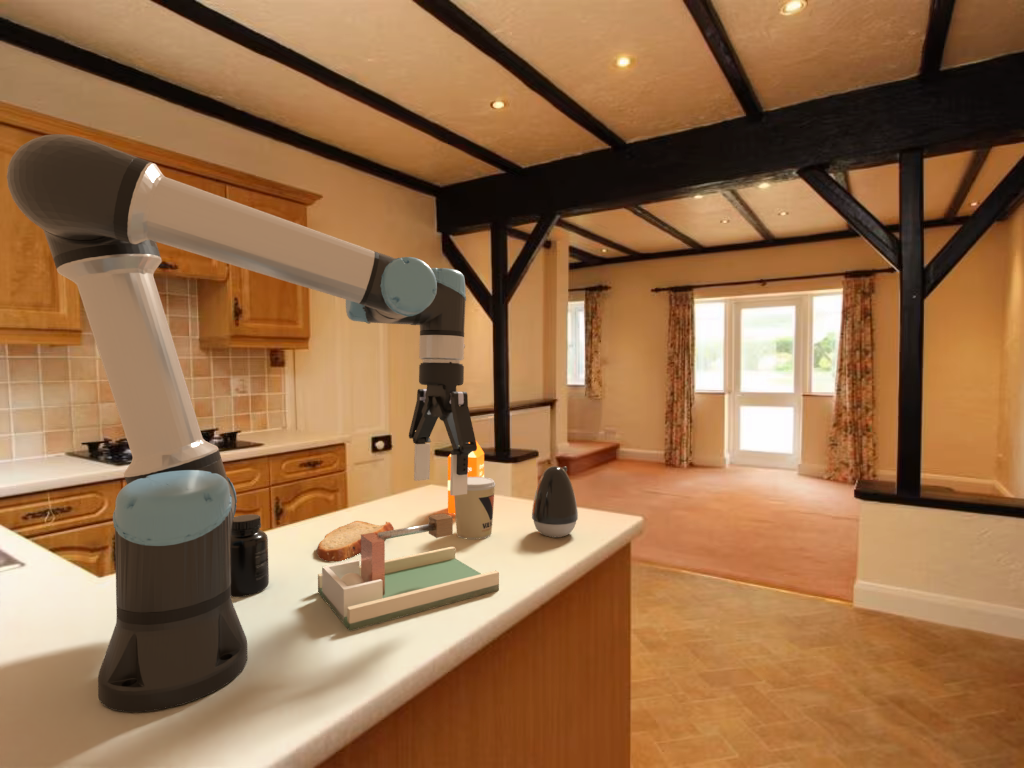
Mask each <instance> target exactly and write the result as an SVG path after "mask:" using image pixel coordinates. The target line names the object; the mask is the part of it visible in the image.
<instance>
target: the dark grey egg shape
mask: <svg viewBox="0 0 1024 768" xmlns="http://www.w3.org/2000/svg"><path fill="white" fill-rule="evenodd" d="M567 471H568V467H567V466H562V467H561V466H557V465H554V466H549V467H548V468H546V469H545V470H544V471H543V473H542V475H541V476H540V479H539V481H538V483H537V486H536V489H535V494H534V497H533V498H534V499H533V504H532V509H531V510H532V511H531V519H532V520H533V524H534V526H535V529H536V530H537V531H538V532H539V533H540V534H541V535H543V536H546V537H548V536H549V538H563V537H566V536H568V535H569V534H571V532H572V531H573V530H574V529H575V526H576V524H577V521H578V520H579V515H578V513H579V511H578V506H577V500H576V499H577V498H576V495H575V491H574V488H573V485H572V481H571V479H570V477H569V474H568V473H567ZM562 536H563V537H562Z"/></svg>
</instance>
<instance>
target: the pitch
mask: <svg viewBox="0 0 1024 768" xmlns="http://www.w3.org/2000/svg"><path fill="white" fill-rule="evenodd" d="M348 573H356V574H358V575H360V576H361V564H360V560H359V559H354V560H347V561H342V562H339V563H334V564H329V565H325V566H322V567H321V573H318V574H317V593H318V592H319V593H320V594H319V593H318V594H319V596H320V597H321V596H322V597H323V598H324V599H323V598H322V597H321V598H322V599H323V600H324V602H325V603H326V602H327V603H328V604H327V603H326V604H327V605H328V607H331V608H332V609H333V610H332V609H331V608H330V609H331V610H332V611H333V613H334V614H335V613H336V614H335V615H336V616H337V617H338V619H339V620H340V621H341V622H342V624H343V625H344V626H345V627H346V628H347V630H348V631H350V632H351V631H354V630H355V631H356V630H358V629H362V628H365V627H369V626H373V625H377V624H380V623H383V622H388V621H391V620H395V619H398V618H401V617H405V616H410V615H413V614H417V613H420V612H424V611H427V610H431V609H435V608H440V607H442V606H446V605H449V604H454V603H458V602H461V601H464V600H468V599H472V598H475V597H479V596H483V595H487V594H490V593H494V592H497V591H500V572H499V571H498V570H492V571H488V572H484V573H481V572H479V571H477V570H475V569H474V568H472V567H471V566H469V565H468V564H466V563H463V562H462V561H461V560H458V559H457V558H456V547H455V546H449V547H442V548H439V549H434V550H429V551H425V552H420V553H414V554H410V555H404V556H400V557H394V558H390V559H385V595H383V581H382V580H381V579H379V580H374V581H370V582H365V583H361V584H357V585H352V586H347V585H346V584H345V583H344V582H343V581H342V580H341V578H342V577H343V576H344V575H345V574H348Z"/></svg>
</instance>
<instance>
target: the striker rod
mask: <svg viewBox="0 0 1024 768" xmlns="http://www.w3.org/2000/svg"><path fill="white" fill-rule="evenodd" d="M453 519H454V518H453V516H450V514H446V513H439V514H433V515H428V523H427V524H422V525H421V524H420V525H415V526H409V527H404V528H398V529H394V530H391V531H385V532H379V533H378V534H377V535H376V534H374V533H368V534H362V535H361V553H360V561H361V563H360V565H361V577H362V579H363V581H364V583H365V582H370V581H374V580H379V579H381V580H382V581H383V595H385V560H386V558H385V557H386V555H385V554H386V553H385V551H386V549H385V548H386V547H385V540H388V539H394V538H399V537H404V536H410V535H416V534H422V533H427V532H428V534H429V535H431V536H432V537H434V538H436V539H438V538H443V537H448V536H453V522H454V520H453Z"/></svg>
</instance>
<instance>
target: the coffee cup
mask: <svg viewBox="0 0 1024 768" xmlns="http://www.w3.org/2000/svg"><path fill="white" fill-rule="evenodd" d="M495 488H496V482H495V480H494V479H493V478H489V477H485V476H484V477H468V479H467V494H463V495H455V496H454V499H455V514H454V515H455V525H456V526H455V528H456V535H457V537H459V538H461V539H464V538H467V539H466V540H480V539H479V538H482V539H486V538H489V537H491V535H492V530H493V520H494V519H493V516H494V503H495ZM488 536H489V537H488ZM485 537H486V538H485Z"/></svg>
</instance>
